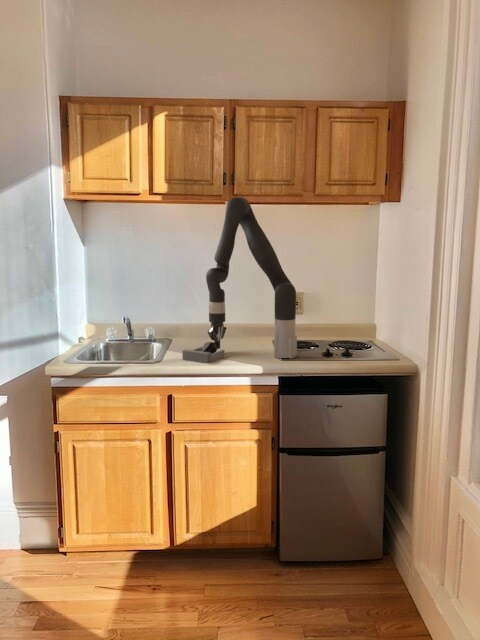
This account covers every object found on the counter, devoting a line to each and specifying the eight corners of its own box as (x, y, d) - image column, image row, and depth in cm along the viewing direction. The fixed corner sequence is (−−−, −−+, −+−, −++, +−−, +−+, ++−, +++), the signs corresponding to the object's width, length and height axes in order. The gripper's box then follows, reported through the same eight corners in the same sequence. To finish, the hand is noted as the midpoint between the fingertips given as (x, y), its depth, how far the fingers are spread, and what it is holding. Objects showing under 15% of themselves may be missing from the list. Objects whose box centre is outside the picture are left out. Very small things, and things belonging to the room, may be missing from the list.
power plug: (192, 357, 223) (205, 338, 230) (198, 368, 228) (211, 349, 235) (202, 358, 220) (215, 339, 227) (208, 370, 225) (221, 351, 232)
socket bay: (224, 356, 228) (224, 347, 228) (207, 363, 216) (207, 354, 216) (200, 353, 235) (200, 344, 234) (182, 359, 223) (182, 350, 222)
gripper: (216, 314, 224) (216, 352, 227) (231, 310, 236) (231, 346, 239) (202, 312, 228) (202, 350, 231) (217, 309, 239) (218, 345, 242)
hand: (217, 348), depth 235 cm, fingers closed
